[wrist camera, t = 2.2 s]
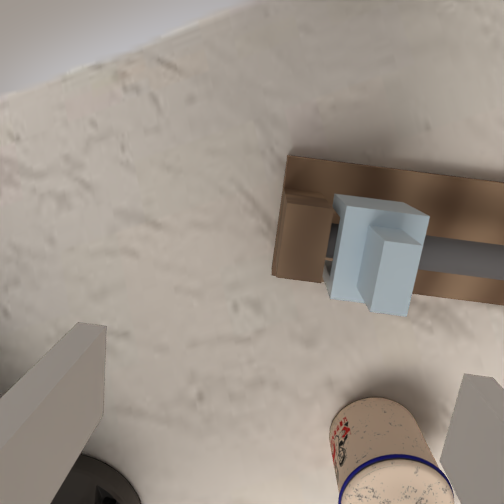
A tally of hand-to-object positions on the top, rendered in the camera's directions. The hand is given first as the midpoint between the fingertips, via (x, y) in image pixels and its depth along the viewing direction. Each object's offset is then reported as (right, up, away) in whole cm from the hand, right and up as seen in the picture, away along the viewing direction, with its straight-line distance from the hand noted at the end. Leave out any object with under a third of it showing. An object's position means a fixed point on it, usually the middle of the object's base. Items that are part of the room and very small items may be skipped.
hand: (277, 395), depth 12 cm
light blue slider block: (+7, +5, +21) cm, 23 cm away
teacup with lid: (+12, -15, +32) cm, 38 cm away
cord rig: (+14, +6, +26) cm, 30 cm away
